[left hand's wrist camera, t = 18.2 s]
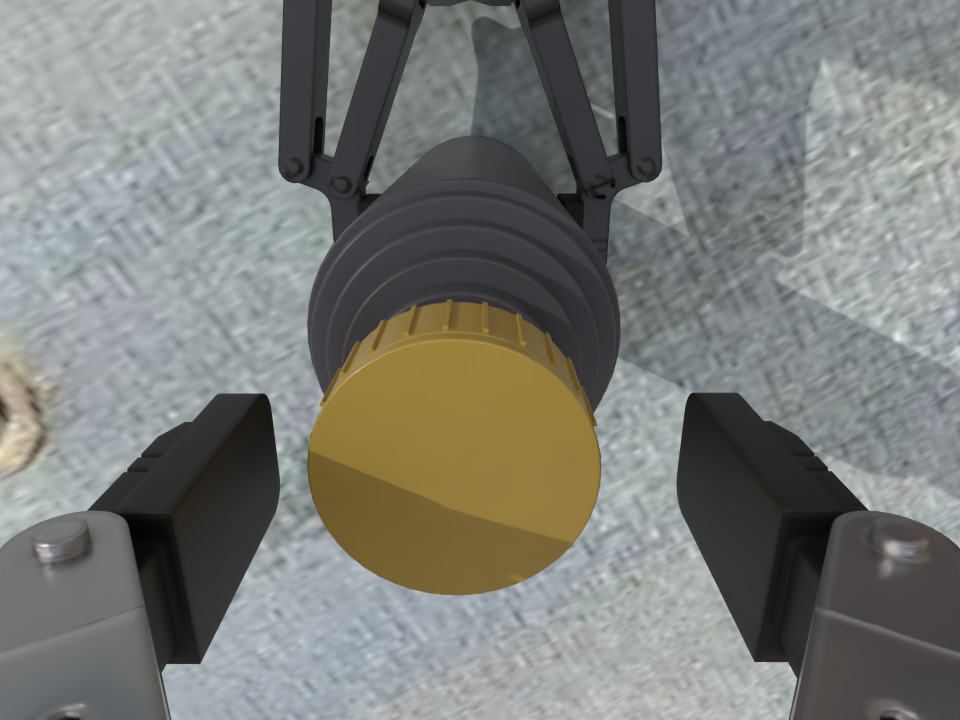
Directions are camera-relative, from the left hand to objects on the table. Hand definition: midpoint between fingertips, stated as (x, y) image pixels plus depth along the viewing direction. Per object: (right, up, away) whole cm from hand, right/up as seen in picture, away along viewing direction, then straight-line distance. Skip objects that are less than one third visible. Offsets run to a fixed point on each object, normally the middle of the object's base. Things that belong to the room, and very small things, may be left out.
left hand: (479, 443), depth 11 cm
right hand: (0, +2, +18) cm, 18 cm away
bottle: (0, +9, +23) cm, 24 cm away
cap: (0, 0, -1) cm, 1 cm away
